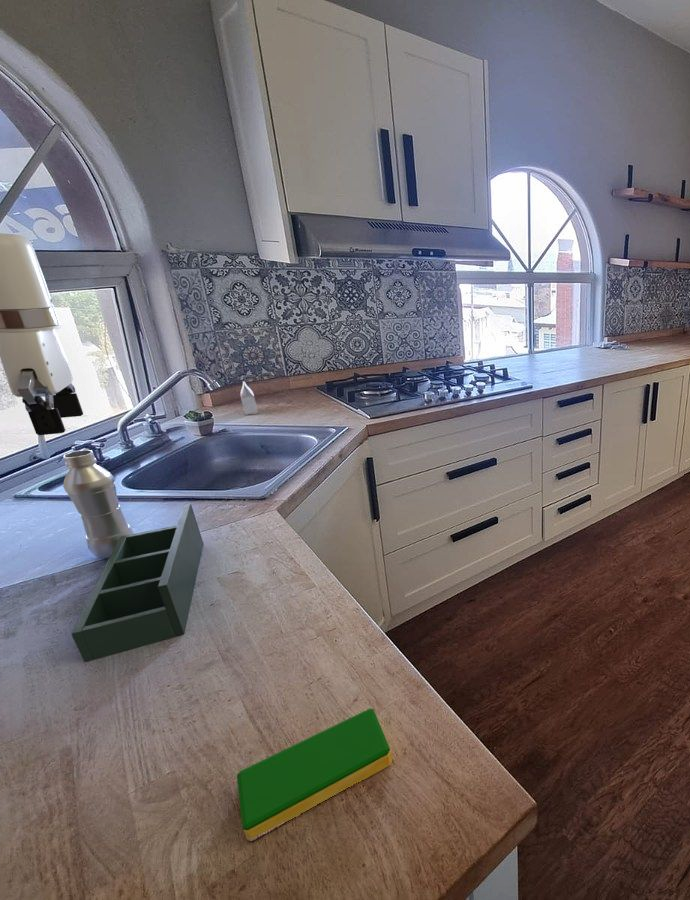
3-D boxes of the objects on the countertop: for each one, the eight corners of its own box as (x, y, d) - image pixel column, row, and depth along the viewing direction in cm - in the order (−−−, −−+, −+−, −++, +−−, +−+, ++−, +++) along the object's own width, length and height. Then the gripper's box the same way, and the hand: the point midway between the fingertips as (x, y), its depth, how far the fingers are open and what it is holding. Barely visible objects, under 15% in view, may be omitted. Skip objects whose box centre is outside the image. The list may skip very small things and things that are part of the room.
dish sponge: (241, 787, 54) (236, 771, 53) (375, 720, 62) (372, 706, 61) (248, 845, 49) (242, 829, 48) (393, 764, 57) (390, 749, 56)
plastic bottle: (131, 539, 97) (95, 444, 90) (145, 550, 94) (110, 452, 87) (86, 555, 92) (45, 455, 85) (100, 567, 89) (58, 464, 81)
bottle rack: (84, 662, 69) (59, 610, 66) (128, 559, 91) (112, 516, 88) (184, 634, 75) (166, 584, 71) (203, 544, 97) (190, 502, 93)
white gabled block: (256, 408, 174) (250, 380, 170) (258, 413, 169) (251, 384, 165) (244, 409, 172) (237, 381, 168) (245, 415, 167) (237, 386, 163)
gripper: (10, 313, 82) (48, 413, 88) (-41, 328, 68) (7, 444, 75) (73, 312, 86) (105, 408, 92) (36, 326, 72) (76, 437, 78)
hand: (61, 424), depth 83 cm, fingers open, 9 cm apart
